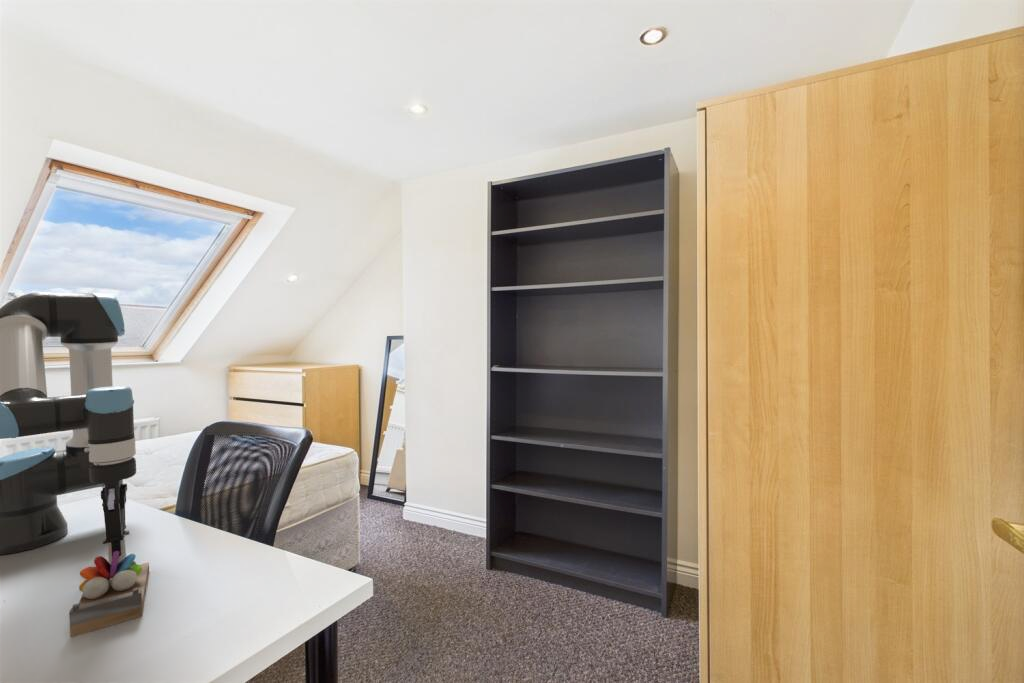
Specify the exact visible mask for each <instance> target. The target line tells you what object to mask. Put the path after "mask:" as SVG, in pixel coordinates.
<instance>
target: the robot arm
mask: <svg viewBox="0 0 1024 683" xmlns="http://www.w3.org/2000/svg"><path fill="white" fill-rule="evenodd" d="M125 333H126V331H125V321H124V315H123V313H122V309H121V305H120V302H119V300H118V299H117V297H115V295H113V294H105V293H95V292H92V293H80V292H77V293H76V292H47V291H46V292H45V291H38V292H32V293H27V294H24V295H21V296H18V297H16V298H14V299H12V300H9V301H8V302H6V303H5V304H4V305H3V306H2V305H1V307H0V440H2V439H3V440H5V439H17V438H22V437H29V436H30V437H31V436H37V435H43V434H45V435H46V434H50V433H57V432H59V433H60V432H67V431H72V437H70V439H68V440H67V442H66V443H65V449H62V450H58V451H57V450H56V449H55V447H54V446H49V445H48V446H42V447H33V448H30V449H25V450H21V451H18V452H14V453H11V454H8V455H7V454H6V455H5V456H3V457H0V555H1V554H3V555H10V554H16V553H20V552H24V551H29V550H32V549H37V548H39V547H42V546H45V545H47V544H48V545H49V544H50V543H54V542H56V541H57V540H60V539H61V538H63V537H64V536H66V534H68V530H69V528H68V522H67V520H66V518H65V516H64V515H63V513H62V512H61V509H60V508H59V506H58V496H61V495H66V494H71V493H76V492H80V491H86V490H91V489H96V488H102V489H101V490H100V499H101V500H102V503H101V507H102V511H103V515H104V516H103V517H104V527H105V528H104V529H105V538H106V539H104V540H102V543H103V545H105V544H107V550H108V551H107V552H108V553H107V554H108V555H107V556H108V562H109V563H110V565H111V562H112V556H113V552H115V551H119V559H118V563H119V562H120V561H122V560H123V559H124V558H125V557H127V544H126V543H127V542H126V536H127V535H130V530H126V528H127V524H126V503H127V491H128V483H124V482H123V481H124V480H127V479H129V478H132V477H133V476H135V475H136V474H137V459H136V458H135V457H134V456H135V455H136V454H137V449H136V447H137V446H136V436H135V429H134V428H135V424H134V404H135V400H134V397H133V391H132V390H133V389H132V388H131V387H129V386H127V385H126V386H124V385H116V386H115V385H113V362H112V348H113V347H114V346H116V345H117V344H118V343H119V338H118V337H122V336H124V335H125ZM46 338H60V344H61V345H62V346H63V347H65V348H66V349H67V350H68V352H69V354H68V357H69V358H68V360H69V374H70V375H69V376H70V377H69V378H70V380H69V381H70V395H63V396H50V397H48V391H47V390H48V388H47V378H46V377H47V376H46V368H45V357H44V356H45V355H44V345H43V344H44V342H43V341H44V340H45V339H46Z"/></svg>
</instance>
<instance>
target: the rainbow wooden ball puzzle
mask: <svg viewBox="0 0 1024 683" xmlns="http://www.w3.org/2000/svg"><path fill="white" fill-rule="evenodd" d="M118 559H119V551H115V552H113V556H112V562H111V565H110V563H109V560H107V559H106V557H104V556H102V555H97V556H96V557H95V558H94V565H95V566H88V567H84V568H83V569H81V571H80V572H79V575H80V577H81V578H82V579H85V580H83V581H82V582H80V584H79V586H78V589H79V591H80V593H82V594H83V596H84V597H86V598H88V599H95V598H98V597H101V596H102V595H104V594H105V593H106V592H107V590H108V589H109V586H110V584H109V580H110V578H112V580H111V586H112V588H113V589H115V590H117V591H124V590H127V589H129V588H130V587H132V586H133V585H134V583H135V582H136V580H137V575H138V574H140V572H141V571H142V568H141V566H140V564H138V563H137V562H136V561H135V559H136V554H135V553H130V554H128V555H126V557H125V558H124V559H123V560H122V561H120V562H119V563H118Z"/></svg>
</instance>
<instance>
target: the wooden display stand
mask: <svg viewBox="0 0 1024 683" xmlns="http://www.w3.org/2000/svg"><path fill="white" fill-rule="evenodd" d="M139 565H140V566H141V568H142V571H141V572H140V574H138V575H137V580H136V582H135V583H134V585H133V586H132V587H130V588H129V589H127V590H124V591H117V590H115V589H113V588H112V586H111V580H112V578H110V580H109V584H110V586H109V589H108V590H107V592H106V593H105V594H104V595H102V596H101V597H98V598H95V599H88V598H86V597H84V596H83V594H82V595H81V597H80V599H79V602H77V603H74V604H72V607H71V608H70V609H69V612H68V613H69V614H68V615H69V616H68V617H69V619H68V620H69V634H70V635H69V636H70V638H72V637H76V636H79V635H82V634H86V633H89V632H93V631H96V630H100V629H103V628H106V627H110V626H112V625H113V626H114V625H116V624H120V623H123V622H126V621H131V620H134V619H136V618H137V619H138V618H141V617H143V613H144V612H143V610H144V605H145V600H146V594H147V587H148V580H149V574H150V562H145V563H141V564H139Z"/></svg>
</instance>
